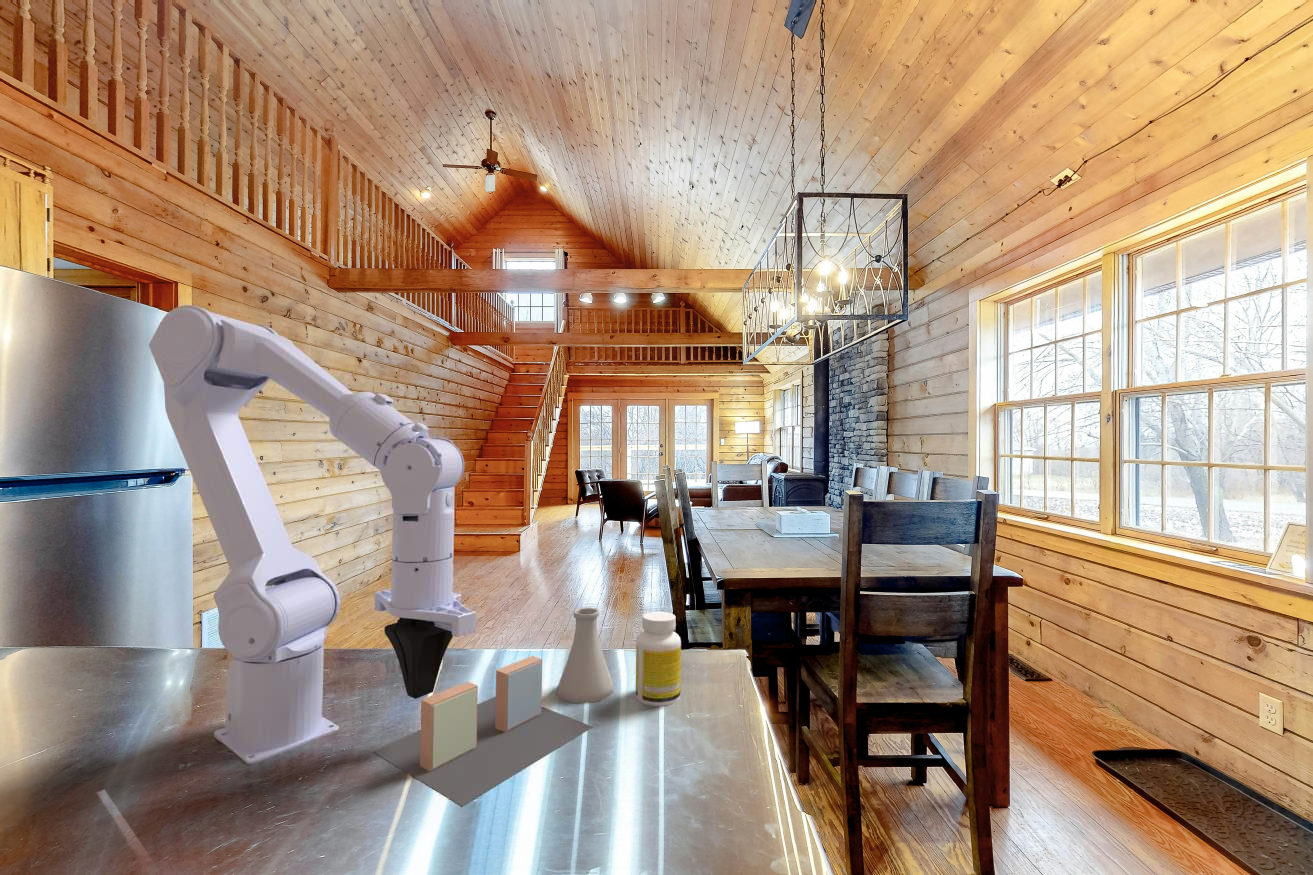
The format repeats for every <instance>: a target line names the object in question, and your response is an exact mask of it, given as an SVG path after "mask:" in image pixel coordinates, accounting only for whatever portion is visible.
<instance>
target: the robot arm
mask: <svg viewBox="0 0 1313 875" xmlns="http://www.w3.org/2000/svg"><path fill="white" fill-rule="evenodd" d="M148 347H149V349H150V351H151V354H152V357H153V359H154V363H155V365H156V367H157V369H158V371H159V374H160V376H161V378H162V382H163V389H164V391H163V392H164V394H163V395H164V408H165V412H166V416H167V419H168V421H169V424H170V426H171V429H172V431H173V433H174V436H175V439H176V440H177V443H178V445H179V449H180V451H181V452H182V455H183V457H184V460H185V462H186V465H187V468H188V470H189V472H190V474H191V477H192V479H193V482H194V484H195V486H196V489H197V491H198V494H199V496H200V499H201V501H202V504H203V505H204V506H203V507H204V508H205V511H206V513H207V516H208V517H209V521H210V523H211V526H212V528H213V530H214V532H215V535H216V538H217V539H218V542H219V545H220V547H221V551H223V554H224V557H225V560H226V562H227V565H228V566H229V569H230V570H229V572H228V574H227V575H226V577H225V578H224V579H223V581H222V582H221V583H220V585H219V586H218V587H217V589H216V590H215V592H214V594H213V600H214V603H215V604H216V606H217V611H218V612H217V613H218V624H217V625H218V626H217V628H218V630H217V631H218V636H219V639H220V642H221V644H222V645H223V647H224V649H225V650H226V651H227V652H228V653H229V654H230V655H231V656H232V661H231V663H229V666H228V670H227V674H226V675H227V676H226V705H225V706H226V707H225V709H226V711H225V727H223V728H219V729H216V730H215V731H214V732H213V737H214V738H215V739H217V741H219V742H220V743H222V744H224V745H225V746H226V747H227V748H229V749H230V750H231V751H232V752H233V753H234V754H235V755H237V756H238V757H239V758H240V759H242V761H244V762H245V763H246V764H247V765H253V764H256V763H260V762H263V761H264V760H267V759H269V758H272V757H274V756H277V755H280V754H283V753H284V752H288V751H289V750H292V749H294V748H298V747H300V746H302V745H305V744H308V743H310V742H313V741H315V740H318V739H320V738H323V737H325V736H328V735H330V734H333V733H335V732H338V731H339V730H340V726H339V725H337V724H336V723H334V722H332V721H331V720H329V719H327V718H325V717H324V716H323V697H324V694H323V692H324V691H323V690H324V688H323V687H324V652H325V650H324V649H325V639H326V638H327V637H328V627H329V626H330V625H332V624H333V622H334V621H335V620H336V619H337V617H338V615H339V614H340V613H339V612H340V609H341V596H340V592H339V590H338V588H337V586H336V584H335V583H334V582H333V581H332V580H331V579H330V578H329V577H327V576H326V575H325V574H324V573H323V571H322V570H321V568H320V566H319V565H318V561H317V559H315V558H314V557H312V556H310V555H309V554H306V553H305V552H303V551H300V550H299V549H297V548H296V547H294V546H293V543H292V542H291V539H290V537H289V534H288V532H287V530H286V527H285V525H284V522H283V520H282V517H281V516H280V512H279V510H278V508H277V506H276V503H275V501H274V499H273V496H272V493H271V492H270V488H269V487H268V484H267V482H266V479H265V476H264V474H263V473H262V470H261V467H260V465H259V463H258V461H257V458H256V456H255V454H254V451H253V448H252V446H251V444H250V441H249V439H248V437H247V435H246V432H245V429H244V427H243V425H242V422H241V420H240V418H239V412H240V411H241V410H242V408H243V407H244V406H247V405H249V403H250V402H251V400H253V399H254V398H255V397H256V395H258V393H260V391H262V389H263V388H264V387H265V386H266V385H267V384H268V383H269V382H270V381H271V380H272V381H273V382H274V383H276V384H278V385H279V386H280V387H282V388H284V389H285V390H287V391H288V392H290V393H291V394H293V395H294V396H296V397H297V398H299V399H300V400H302V401H304V402H305V403H307V404H308V405H309V406H311V407H312V408H314V409H315V410H317V411H319V413H321V414H324V416H326V417H328V420H329V424H328V425H329V431H330V434H331V435H332V437H334V438H336V439H337V440H338V441H340V442H341V443H342V444H343V445H345V446H347V448H349V449H351V450H352V451H353V452H354V453H356V454H357V455H359V456H360V457H361V458H362V459H363V460H365V461H366V462H368V463H369V464H371V465H372V466H373V467H374V468H376V469H377V470H379V471H380V476H381V479H382V481H383V484H384V485H385V487H386V488H387V490H388V491H389V493H390V495H391V508H392V539H391V540H392V541H391V542H392V544H391V548H392V549H391V588H389V589H388V588H387V589H383V590H379V591H375V592H374V611H377V612H384V611H387V612H388V614H389V615H390V616H392V617H395V618H398V619H397V622H394V623H390V624H387V625H386V626H385V627H384V628H383V629H384V635H385V636H386V637H387V639H388V640H389V642H390V644H391V645H392V648H393V650H394V652H395V654H396V658H397V659H398V663H399V667H400V671H401V675H402V679H403V683H404V687H405V691H406V694H407V697H410V698H412V699H414V700H417V699H419V698H422V697H425V696H426V695H429V694H431V693H434V689H435V685H436V682H437V680H438V679H437V678H438V676H439V671H440V667H441V664H442V663H443V662H442V661H443V659H444V655H445V654H446V652H447V649H448V647H449V645H450V643H451V641H452V640H453V637H455V638H460V637H463V636H466V635H470V634H473V633H475V632H476V630H477V629H476V625H477V611H474V610H472V609H469V608H468V607H467V606H465V605H464V604H462V602H461V601H462V594H460V593H457V592H454V591H453V590H454V555H455V554H454V551H455V550H454V549H455V548H454V546H455V543H454V541H455V493H456V492H455V487H456V486H457V485H458V484H459V482H460V481H461V480H462V477H463V476H464V473H465V459H464V456H463V453H462V452H461V450H460V449H459V447H457V446H456V445H455V444H454V443H453V441H452V440H451V439H448V438H446V437H438V436H437V437H435V436H434V437H430V435H429V433H428V432H429V431H430V430H429V427H428V426H427V425H425V424H424V423H422V422H416V423H415V422H414V421H412V420H411V419H409V418H408V417H406V416H405V415H404V414H402V413H401V412H400V411H399V410H397V409H396V408H394V407H393V406H392V405H393V403H394V400H393V399H392V398H391V397H389V396H388V395H387V394H383V393H373V392H371V391H361V392H356V393H354V392H352V391H351V390H350V389H348V388H347V387H346V386H345V385H344V384H343V383H341V381H339V380H338V379H337V378H335V377H334V376H332V375H331V374H330V373H329V372H328V371H326V370H325V369H324V368H322V366H320V365H319V364H318V363H317V362H315V361H314V360H313V359H312V358H310V357H309V356H308V355H307V354H306V353H305V352H303V351H302V350H301V349H299V347H296V345H295V344H294V343H293V341H292V340H291V339H289V338H286V337H285V336H283V335H281V334H280V335H279V334H278V333H277V332H276V331H275V330H274V329H272V328H270V327H269V326H265V325H261V324H253V323H250V322H246V321H242V320H239V319H236V318H232V317H229V316H226V315H222V314H218V313H215V312H213V311H208V310H207V309H206V308H203V307H200V306H197V305H190V304H186V305H180V306H177V307H174V308H173V309H171V310H170V311H168V312H167V313H166V314H165V316H163V318H162V319H161V321H160V322H159V324H158V326H157V329H156V330H155V332H154V334H153V336H152V338H151V340H150V342H149V343H148ZM268 586H269V587H268ZM266 587H267V588H266Z"/></svg>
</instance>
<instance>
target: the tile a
mask: <svg viewBox="0 0 1313 875" xmlns="http://www.w3.org/2000/svg"><path fill="white" fill-rule="evenodd" d="M478 687H479V685H478V684H474V683H473V682H470V681H465V682H463V683H460V684H457V685H455V686H452V687H450V688H448V689H446V690H442V691H440V692H438V693H435V694H433V695H430V696H427V697H424V698H423V699H420V730H421V735H420V766H421V767H423V768H424V769H426V770H428V771H429V772H431V771H433V770H435V769H436V768H438V767H440V766H442V765H444V764H446V763H448V762H450V761H452V760H454V759H456V758H458V757H460V756H461V755H463V754H465V753H467V752H469V751H471V750H473V749H475V748H477V704H478V700H479V698H478V696H479V695H478V694H479V693H478V690H479V688H478Z"/></svg>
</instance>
